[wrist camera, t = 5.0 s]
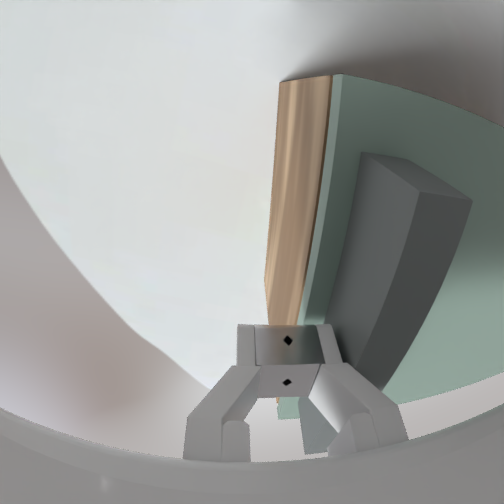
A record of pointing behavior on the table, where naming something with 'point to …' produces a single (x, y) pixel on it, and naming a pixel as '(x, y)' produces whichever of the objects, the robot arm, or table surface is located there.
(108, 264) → the table surface
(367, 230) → the lid
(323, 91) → the wooden box
